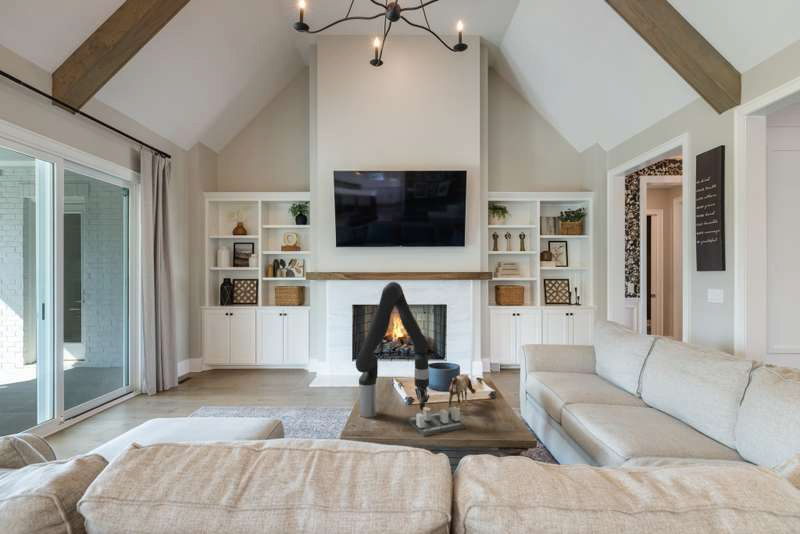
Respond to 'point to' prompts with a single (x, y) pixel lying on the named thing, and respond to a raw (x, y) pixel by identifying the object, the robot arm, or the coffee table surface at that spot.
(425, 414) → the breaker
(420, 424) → the breaker
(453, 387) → the horse figurine
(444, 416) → the breaker
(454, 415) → the breaker
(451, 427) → the panel
